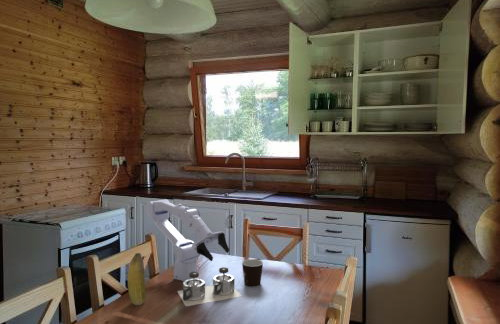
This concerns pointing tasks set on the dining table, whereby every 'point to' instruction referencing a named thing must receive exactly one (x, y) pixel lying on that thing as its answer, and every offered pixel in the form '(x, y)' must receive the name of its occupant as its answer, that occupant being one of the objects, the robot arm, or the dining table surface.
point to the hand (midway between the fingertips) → (220, 255)
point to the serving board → (209, 296)
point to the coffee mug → (252, 272)
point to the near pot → (193, 290)
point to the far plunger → (223, 270)
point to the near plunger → (194, 275)
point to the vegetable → (136, 280)
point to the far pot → (223, 285)
